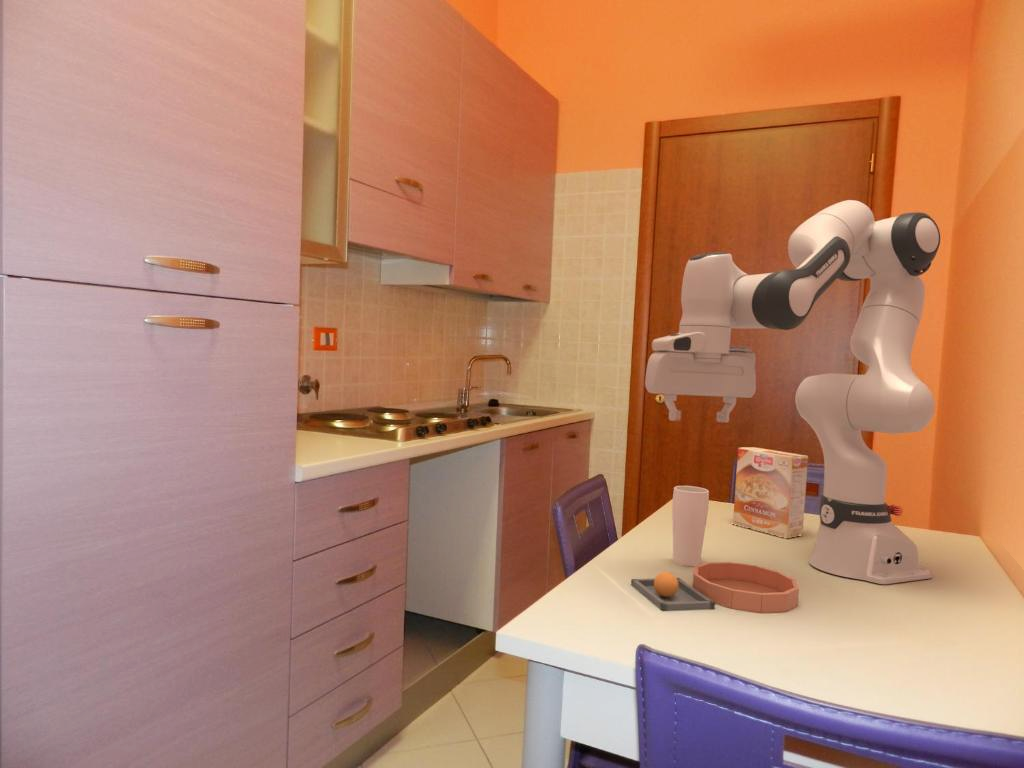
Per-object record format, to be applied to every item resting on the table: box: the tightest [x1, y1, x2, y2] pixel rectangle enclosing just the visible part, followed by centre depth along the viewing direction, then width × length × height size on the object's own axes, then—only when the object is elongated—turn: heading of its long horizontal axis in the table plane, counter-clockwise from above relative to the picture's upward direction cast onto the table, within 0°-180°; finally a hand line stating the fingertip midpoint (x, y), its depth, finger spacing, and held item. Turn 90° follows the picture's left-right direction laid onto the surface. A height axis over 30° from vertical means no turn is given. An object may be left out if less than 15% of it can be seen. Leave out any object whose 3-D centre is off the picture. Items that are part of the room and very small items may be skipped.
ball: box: [654, 571, 679, 597], centre depth 112 cm, size 4×4×4 cm
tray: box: [630, 577, 716, 612], centre depth 112 cm, size 9×12×2 cm
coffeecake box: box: [732, 446, 809, 539], centre depth 165 cm, size 15×7×20 cm, turn 36°
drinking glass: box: [671, 485, 710, 567], centre depth 132 cm, size 7×7×15 cm
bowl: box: [692, 561, 800, 614], centre depth 115 cm, size 17×17×4 cm
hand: (698, 421), depth 121 cm, fingers open, 8 cm apart
